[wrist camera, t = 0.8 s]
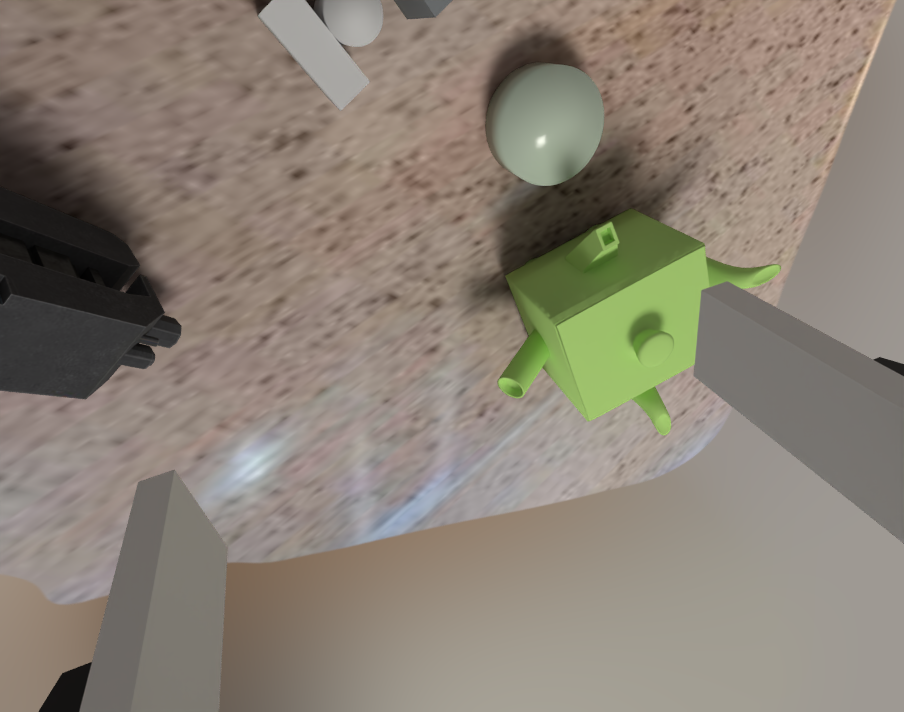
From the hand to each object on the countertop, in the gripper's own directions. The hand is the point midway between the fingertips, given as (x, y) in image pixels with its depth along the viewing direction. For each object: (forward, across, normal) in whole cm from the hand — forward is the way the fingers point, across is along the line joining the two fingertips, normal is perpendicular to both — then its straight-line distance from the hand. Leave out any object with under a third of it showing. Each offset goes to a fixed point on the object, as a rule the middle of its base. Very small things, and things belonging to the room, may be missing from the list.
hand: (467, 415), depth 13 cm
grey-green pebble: (+26, +14, 0) cm, 29 cm away
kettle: (+26, +16, -13) cm, 33 cm away
